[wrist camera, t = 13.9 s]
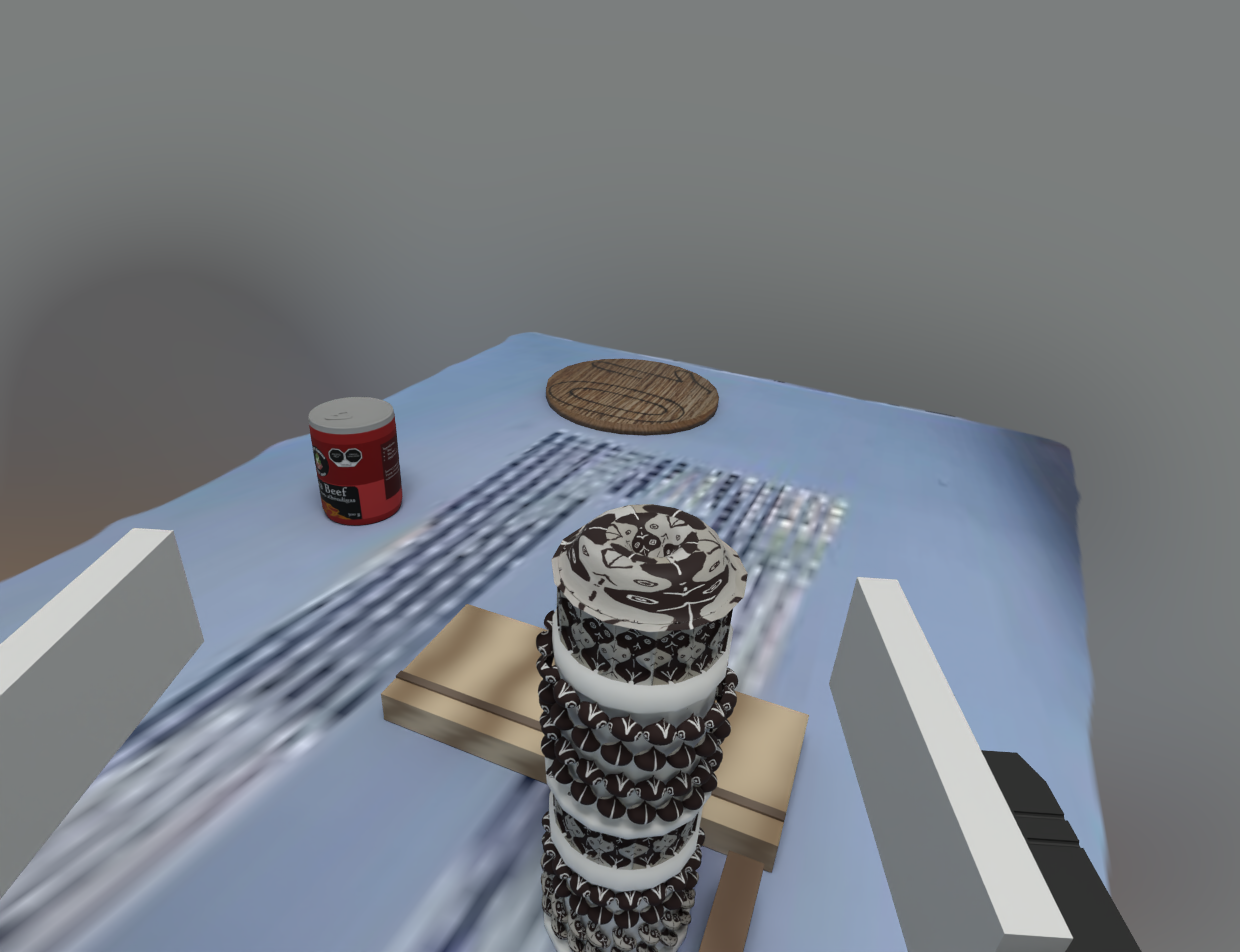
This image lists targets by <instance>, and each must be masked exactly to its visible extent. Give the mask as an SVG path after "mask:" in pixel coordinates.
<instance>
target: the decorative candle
mask: <svg viewBox="0 0 1240 952" xmlns="http://www.w3.org/2000/svg"><path fill="white" fill-rule="evenodd" d="M552 567H553V575H554V583H555V584H556V585H557V609H556V611H555V612H554V610H553V611H550V612H549V613H548V614H547V615H546V617H545V620H544V625H545V627H546V629H547V630H549V631H545V632H544V631H542V632H541V633H539V634H538V635H537V637H536V647H537V649H538V651H539V652H540V653H541V654H542V655H541V656H540V657H539V659H538V660H537V662H536V667H537V670H538V672H539V674H540V676H541V677H542V678H543V680H542V681H541V682H540V684H539V687H538V696H539V704H540V706H541V708H542V709H543V711H544V712H543V713H542V714H541V716H540V720H539V722H540V725H541V730H542V732H543V734H544V737H543V738H542V741H541V751H542V753H543V755H544V756H545V767H546V780H547V784H548V786H549V788H550V789H551V792H550V795H549V811H548V812H546V813H545V815H544V816H543V818H542V825H543V827H544V829H545V830H546V832H545V834H544V835H543V837H542V844H543V849H544V853H543V855H542V858H541V867H542V870H543V873H542V876H541V884H542V891H543V897H542V908H543V911H544V926H545V928H546V930H547V932H548V934H549V936H550V938H551V940H552V942H553V944H554V946H555V948H556V950H557V952H677V950H678V948H679V947H680V945H681V944H682V942H683V941H684V939H685V938H686V933H687V927H688V924H689V923H690V922H691V916H690V908H691V907H693V906H694V898H695V891H694V889H693V887H695V885H696V884H697V881H698V879H699V875H698V873H697V872H696V871H695V870H696V869H698V868H699V866H700V864H701V857H702V853H701V850H700V849H699V848H700V847H701V846H702V845H703V843H704V841H705V832H704V831H703V829H702V828H701V827H700V821H701V815H702V809H703V805H704V804H705V803H706V801H707V800H708V799H709V797H710V796H711V792H712V791H713V790H715V789H716V787H717V777H716V775H715V774H714V773H715V771H716V770H717V769H718V768H719V766H720V764H721V762H722V759H723V751H722V749H721V747H720V746H719V745H721V744H722V743H723V741H724V739H725V738H726V737H728V736H729V735H730V732H731V725H730V722H729V721H728V719H727V718H729V717H730V716H731V715H732V713H733V710H734V707H735V706H736V703H737V695H736V693H735V691H734V690H733V689H735V688H736V686H737V684H738V678H737V676H736V674H735V673H734V671H732V670H731V669H729V668H727V666H728V658H729V652H730V646H731V640H732V634H733V628H732V626H731V617H732V611H733V608H734V607H735V605H736V604H737V603H738V602H739V601H740V600H741V599H742V598H743V597H744V594H745V587H746V581H747V572H746V570H745V568H744V566H743V564H742V562H741V560H740V558H739V556H738V554H737V552H736V551H735V550H733V549H732V548H731V547H730V546H728V545H727V544H726V543H725V542H723V541H722V540H721V539H720V538H719V536H718V535H717V533H716V532H715V531H714V530H713V529H711V528H710V527H709V526H708V525H706V524H705V523H704V522H703V521H702V520H700V519H699V518H697V517H695V516H693V515H691V514H688V513H686V512H683V511H681V510H678V509H676V508H671V507H665V506H659V505H653V504H647V505H627V506H624V507H620V508H616V509H612V510H609V511H606V512H604V513H603V514H601V515H599V516H598V517H596V518H595V519H593V520H592V521H590V522H589V523H588V524H586V525H584V526H583V527H581V528H580V529H578V530H577V531H575V532H574V533H572V534H571V535H569V536H568V537H566V538H564V539H563V541H562V542H561V544H560V546H559V547H558V549H557V551H556V553H555V554H554V556H553V558H552ZM553 659H554V661H555V665H553V666H552V663H553ZM716 700H717V703H715V701H716Z"/></svg>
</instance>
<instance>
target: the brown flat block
mask: <svg viewBox="0 0 1240 952" xmlns="http://www.w3.org/2000/svg"><path fill="white" fill-rule="evenodd" d="M763 868H764V864H763V863H761V862H758V861H756V860H753V859H751V858H748V857H745V856H743V855H740V854H738V853H735V852H733V851H730V850H729V852H728V855H727V858H726V862H725V865H724V869H723V872H722V875H721V879H720V882H719V885H718V889H717V892H716V895H715V899H714V902H713V905H712V909H711V912H710V915H709V919H708V922H707V926H706V929H705V932H704V936H703V939H702V942H701V946H700V949H699V952H743V950H744V946H745V942H746V938H747V934H748V930H749V926H750V921H751V917H752V913H753V909H754V905H755V901H756V897H757V893H758V889H759V885H760V881H761V877H762V872H763Z"/></svg>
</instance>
